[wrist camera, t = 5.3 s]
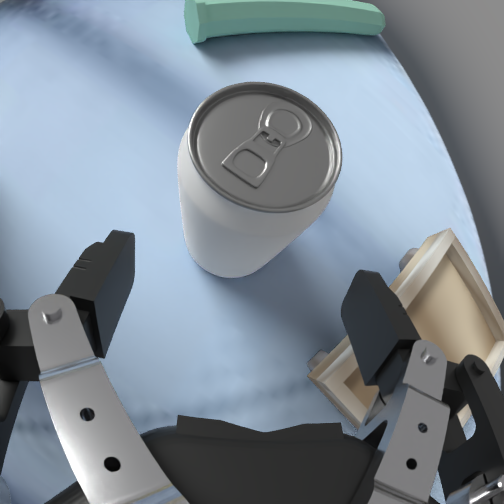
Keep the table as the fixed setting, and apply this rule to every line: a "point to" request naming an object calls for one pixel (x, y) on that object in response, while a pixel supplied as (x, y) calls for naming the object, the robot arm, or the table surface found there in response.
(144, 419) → the table surface
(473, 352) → the shallow wooden tray
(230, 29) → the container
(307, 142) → the can
